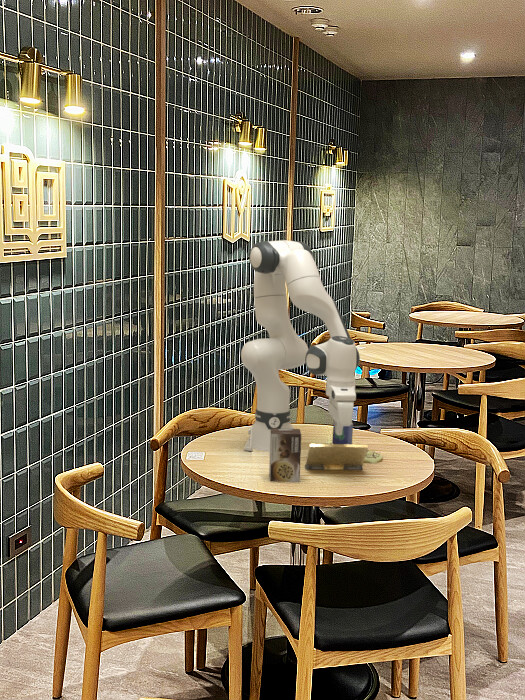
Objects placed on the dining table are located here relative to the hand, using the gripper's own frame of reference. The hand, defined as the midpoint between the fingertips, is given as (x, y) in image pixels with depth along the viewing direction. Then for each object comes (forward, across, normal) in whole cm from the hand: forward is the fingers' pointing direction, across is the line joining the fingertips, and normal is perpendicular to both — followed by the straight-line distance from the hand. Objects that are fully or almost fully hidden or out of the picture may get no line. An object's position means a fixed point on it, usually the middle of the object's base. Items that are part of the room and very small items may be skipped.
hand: (338, 434), depth 256 cm
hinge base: (+14, 0, 0) cm, 14 cm away
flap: (+9, -1, 0) cm, 9 cm away
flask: (+14, -39, +9) cm, 42 cm away
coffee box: (+14, +7, -17) cm, 23 cm away
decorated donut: (+14, -17, +13) cm, 25 cm away
